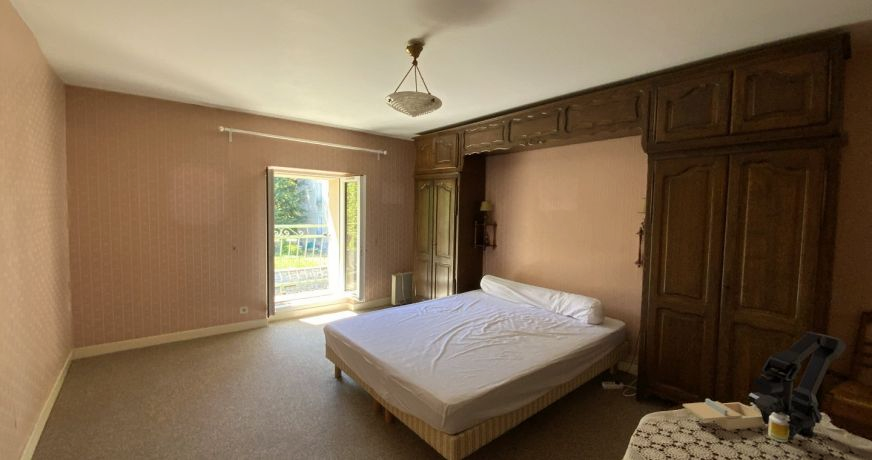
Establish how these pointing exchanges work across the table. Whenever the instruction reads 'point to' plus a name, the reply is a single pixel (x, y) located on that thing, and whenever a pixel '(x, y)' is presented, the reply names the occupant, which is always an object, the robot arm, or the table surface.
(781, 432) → the supplement bottle
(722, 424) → the wooden box
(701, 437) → the table surface
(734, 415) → the lid
